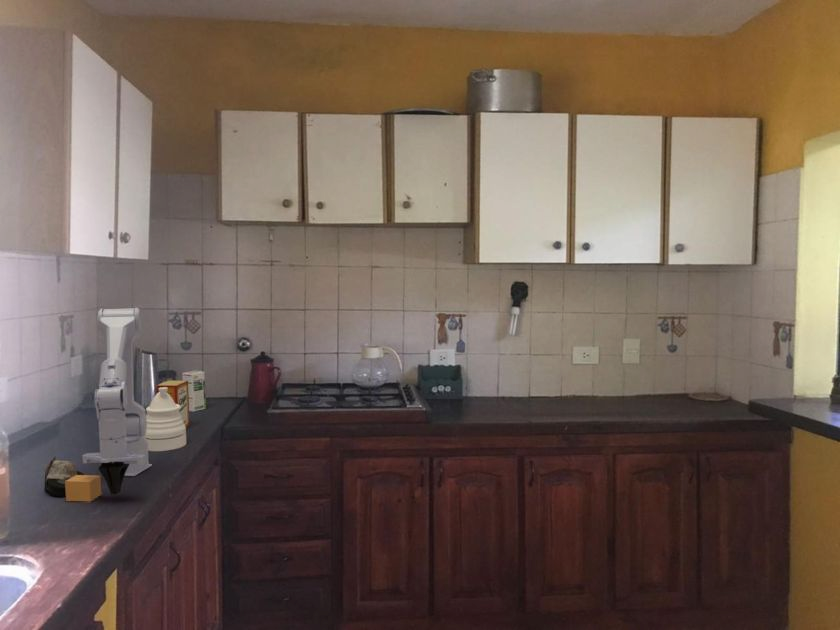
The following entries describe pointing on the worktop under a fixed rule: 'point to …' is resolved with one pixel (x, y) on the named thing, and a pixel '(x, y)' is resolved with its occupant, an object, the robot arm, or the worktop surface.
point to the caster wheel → (59, 476)
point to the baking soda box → (179, 396)
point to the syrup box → (196, 390)
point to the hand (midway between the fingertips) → (115, 493)
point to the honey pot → (164, 423)
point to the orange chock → (83, 488)
